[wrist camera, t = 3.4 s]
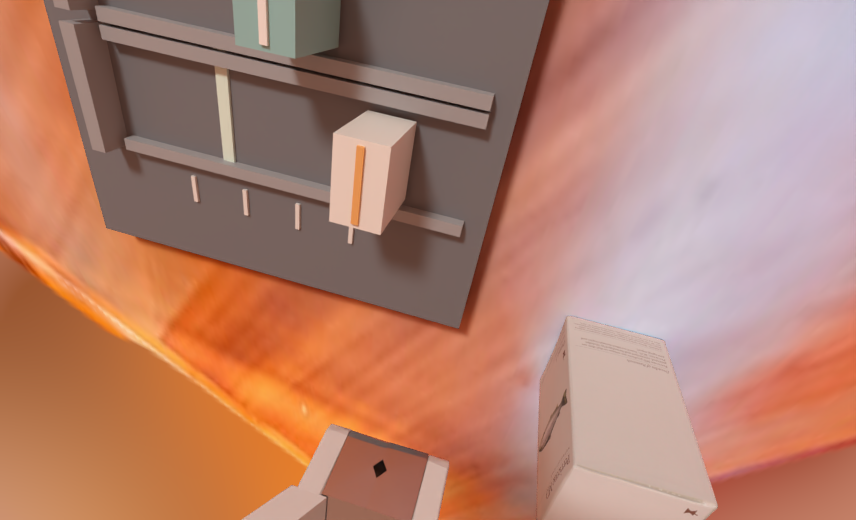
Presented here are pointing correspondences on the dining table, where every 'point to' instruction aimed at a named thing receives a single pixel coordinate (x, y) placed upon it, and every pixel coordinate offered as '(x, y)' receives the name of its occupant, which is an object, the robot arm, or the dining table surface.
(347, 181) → the fader
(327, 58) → the console
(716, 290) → the dining table surface
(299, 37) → the fader
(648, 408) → the supplement box
